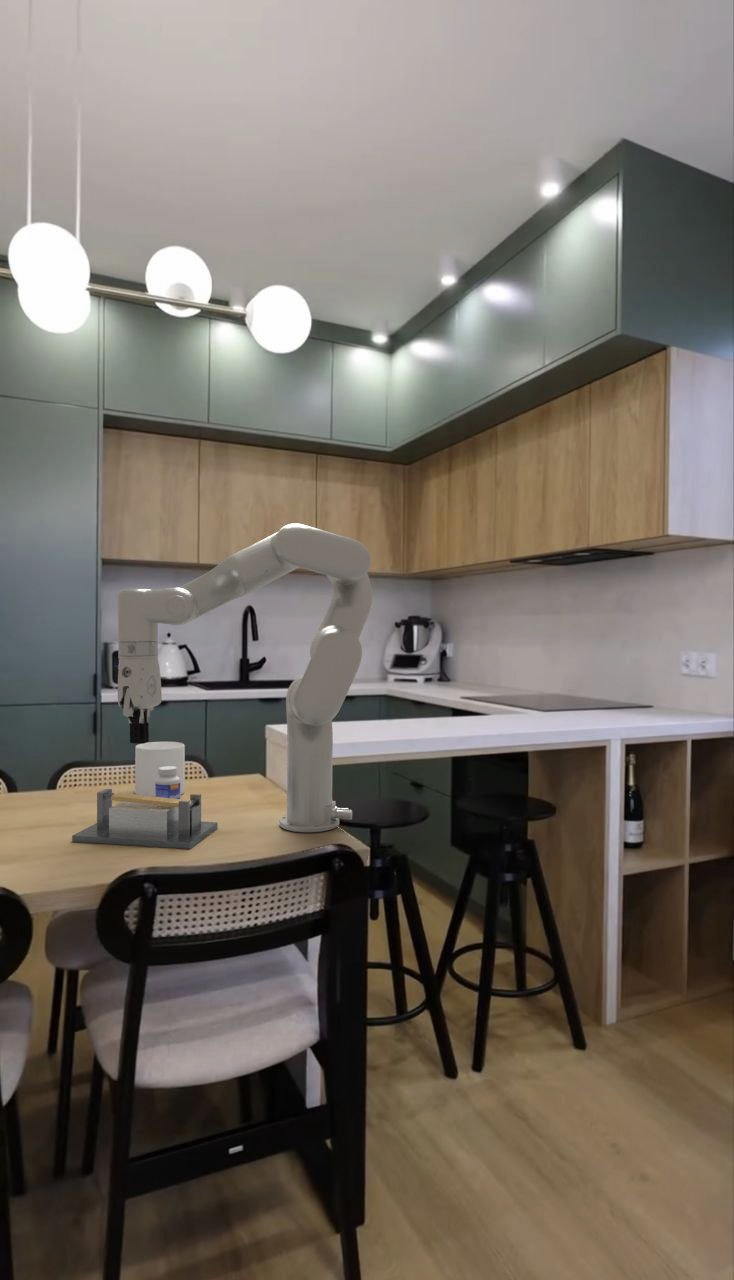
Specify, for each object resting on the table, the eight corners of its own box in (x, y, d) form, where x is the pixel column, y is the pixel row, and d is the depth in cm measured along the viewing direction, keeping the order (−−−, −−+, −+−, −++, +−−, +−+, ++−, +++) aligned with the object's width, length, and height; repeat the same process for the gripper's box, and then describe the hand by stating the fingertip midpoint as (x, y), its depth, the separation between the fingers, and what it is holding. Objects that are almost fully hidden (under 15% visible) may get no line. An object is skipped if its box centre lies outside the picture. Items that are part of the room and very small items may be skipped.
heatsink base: (217, 828, 148) (217, 787, 148) (190, 849, 134) (190, 804, 134) (109, 822, 152) (109, 782, 152) (72, 841, 138) (72, 798, 138)
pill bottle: (173, 814, 158) (173, 770, 158) (150, 813, 159) (150, 769, 159) (184, 808, 164) (184, 766, 163) (162, 807, 165) (162, 764, 165)
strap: (196, 804, 143) (196, 800, 143) (188, 809, 139) (188, 805, 139) (119, 796, 146) (119, 791, 146) (109, 800, 142) (109, 796, 142)
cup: (145, 787, 184) (145, 741, 184) (190, 788, 183) (190, 741, 183) (128, 798, 172) (128, 749, 172) (176, 799, 172) (176, 749, 171)
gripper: (137, 652, 135) (139, 749, 135) (172, 649, 149) (173, 737, 150) (100, 652, 136) (102, 748, 136) (138, 649, 151) (139, 736, 151)
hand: (139, 742), depth 143 cm, fingers closed
